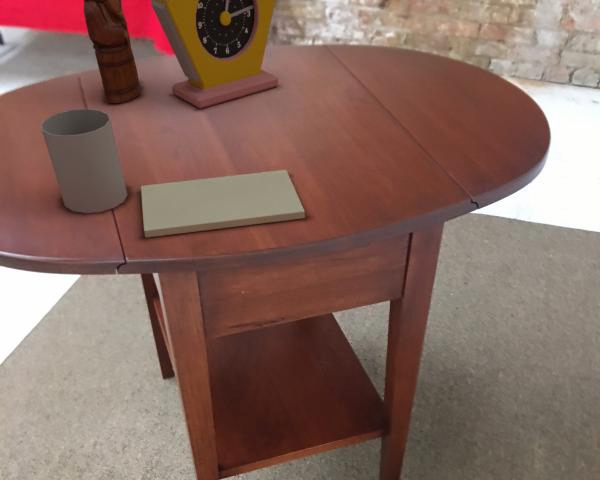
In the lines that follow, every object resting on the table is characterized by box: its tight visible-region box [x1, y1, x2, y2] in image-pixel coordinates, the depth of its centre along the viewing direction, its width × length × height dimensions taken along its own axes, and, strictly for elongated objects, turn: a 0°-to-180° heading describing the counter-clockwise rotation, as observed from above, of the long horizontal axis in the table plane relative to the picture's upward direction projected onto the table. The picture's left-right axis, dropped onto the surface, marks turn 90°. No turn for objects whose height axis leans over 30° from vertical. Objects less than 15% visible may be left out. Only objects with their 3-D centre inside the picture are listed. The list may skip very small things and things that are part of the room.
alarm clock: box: [150, 0, 279, 110], centre depth 105 cm, size 22×9×22 cm, turn 128°
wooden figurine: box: [83, 0, 141, 104], centre depth 106 cm, size 12×6×18 cm, turn 9°
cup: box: [40, 108, 128, 214], centre depth 81 cm, size 8×8×10 cm
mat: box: [140, 169, 306, 238], centre depth 83 cm, size 20×12×1 cm, turn 102°
